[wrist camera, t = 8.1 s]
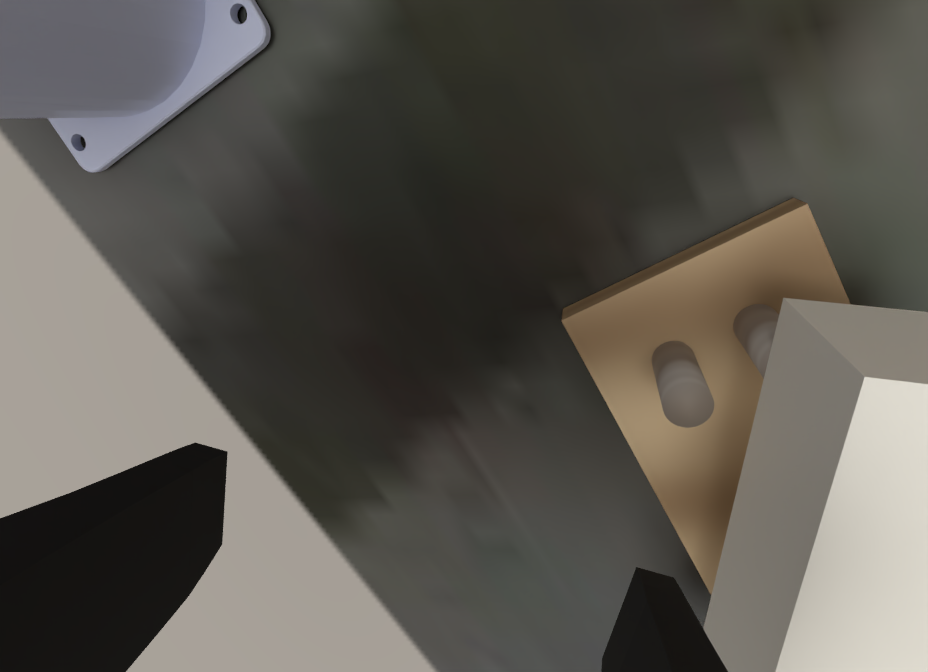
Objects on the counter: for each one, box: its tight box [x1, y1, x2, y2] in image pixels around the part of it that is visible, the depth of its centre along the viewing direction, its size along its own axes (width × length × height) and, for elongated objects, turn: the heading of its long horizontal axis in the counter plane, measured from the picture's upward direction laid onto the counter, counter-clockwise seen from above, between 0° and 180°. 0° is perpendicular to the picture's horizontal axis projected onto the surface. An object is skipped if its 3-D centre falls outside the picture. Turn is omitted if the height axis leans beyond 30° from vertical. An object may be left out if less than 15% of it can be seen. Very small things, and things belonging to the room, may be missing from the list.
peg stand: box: [561, 198, 851, 595], centre depth 18 cm, size 14×7×4 cm, turn 30°
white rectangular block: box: [703, 298, 928, 672], centre depth 14 cm, size 12×4×4 cm, turn 177°
